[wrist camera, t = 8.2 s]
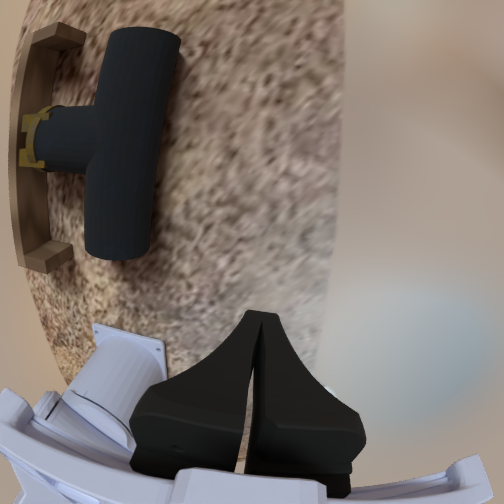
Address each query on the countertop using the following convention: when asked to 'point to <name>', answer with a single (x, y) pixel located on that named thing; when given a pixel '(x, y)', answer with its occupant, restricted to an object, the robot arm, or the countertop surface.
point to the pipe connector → (112, 140)
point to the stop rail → (25, 178)
